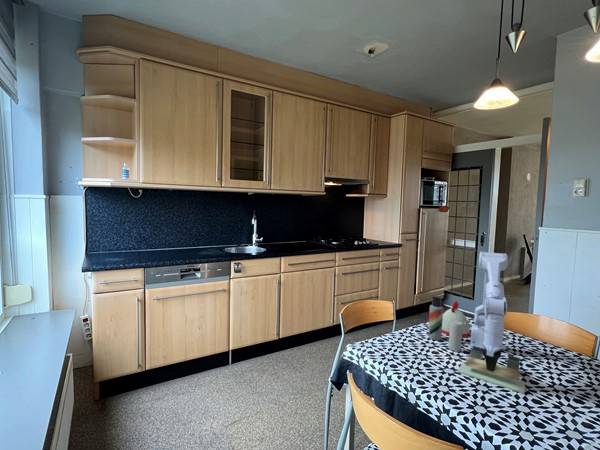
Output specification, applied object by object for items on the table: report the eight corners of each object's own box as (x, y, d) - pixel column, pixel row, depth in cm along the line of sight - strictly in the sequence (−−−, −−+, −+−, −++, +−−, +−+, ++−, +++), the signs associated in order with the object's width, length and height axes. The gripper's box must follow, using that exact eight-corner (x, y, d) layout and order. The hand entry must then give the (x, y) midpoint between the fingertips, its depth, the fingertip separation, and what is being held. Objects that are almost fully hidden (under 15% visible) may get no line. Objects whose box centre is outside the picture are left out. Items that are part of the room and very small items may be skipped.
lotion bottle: (425, 335, 147) (428, 294, 146) (437, 335, 147) (439, 294, 146) (432, 340, 141) (434, 297, 140) (443, 340, 142) (446, 298, 140)
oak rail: (465, 365, 114) (465, 358, 114) (467, 362, 117) (467, 356, 116) (518, 381, 104) (518, 374, 104) (518, 377, 107) (519, 370, 107)
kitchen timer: (472, 332, 153) (474, 302, 152) (464, 340, 143) (466, 308, 142) (443, 324, 163) (445, 296, 162) (434, 331, 153) (435, 301, 152)
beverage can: (462, 353, 130) (464, 325, 129) (450, 351, 131) (451, 324, 130) (459, 348, 134) (460, 321, 134) (447, 346, 135) (448, 320, 135)
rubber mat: (457, 372, 114) (457, 371, 114) (462, 364, 120) (462, 362, 120) (524, 393, 101) (524, 392, 101) (525, 383, 108) (525, 382, 108)
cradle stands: (469, 362, 121) (470, 349, 121) (472, 358, 125) (472, 345, 125) (518, 377, 112) (519, 363, 111) (518, 371, 116) (519, 358, 115)
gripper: (505, 341, 102) (502, 381, 102) (508, 328, 113) (506, 364, 114) (480, 335, 106) (478, 373, 107) (486, 323, 117) (484, 358, 118)
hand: (491, 368), depth 110 cm, fingers closed on oak rail, 3 cm apart
